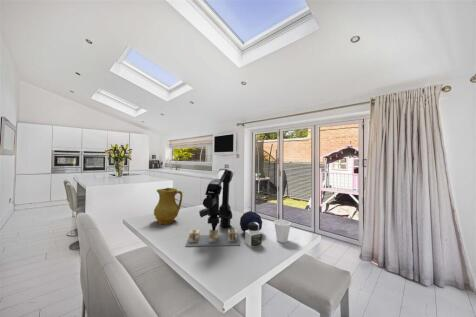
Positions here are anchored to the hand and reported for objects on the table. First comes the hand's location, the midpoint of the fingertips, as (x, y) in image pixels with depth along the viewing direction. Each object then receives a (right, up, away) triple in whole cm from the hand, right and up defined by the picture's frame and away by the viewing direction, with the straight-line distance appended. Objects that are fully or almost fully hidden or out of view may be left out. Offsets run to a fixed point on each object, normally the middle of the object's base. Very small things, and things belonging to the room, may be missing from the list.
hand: (213, 230), depth 112 cm
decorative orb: (+23, -7, +12) cm, 26 cm away
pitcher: (-39, -5, +31) cm, 50 cm away
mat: (0, -6, 0) cm, 6 cm away
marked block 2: (+11, -6, +1) cm, 12 cm away
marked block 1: (-11, -5, -1) cm, 12 cm away
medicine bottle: (+23, -7, -3) cm, 24 cm away
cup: (+41, -7, +2) cm, 41 cm away
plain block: (0, -5, 0) cm, 5 cm away
